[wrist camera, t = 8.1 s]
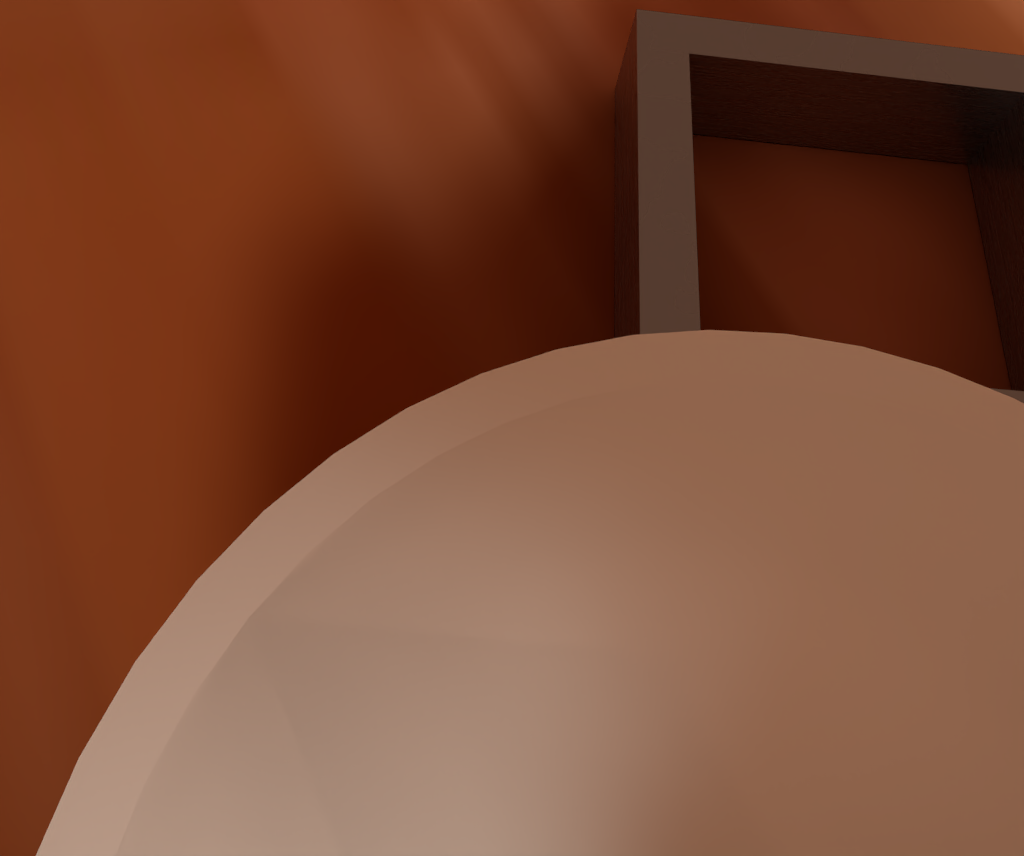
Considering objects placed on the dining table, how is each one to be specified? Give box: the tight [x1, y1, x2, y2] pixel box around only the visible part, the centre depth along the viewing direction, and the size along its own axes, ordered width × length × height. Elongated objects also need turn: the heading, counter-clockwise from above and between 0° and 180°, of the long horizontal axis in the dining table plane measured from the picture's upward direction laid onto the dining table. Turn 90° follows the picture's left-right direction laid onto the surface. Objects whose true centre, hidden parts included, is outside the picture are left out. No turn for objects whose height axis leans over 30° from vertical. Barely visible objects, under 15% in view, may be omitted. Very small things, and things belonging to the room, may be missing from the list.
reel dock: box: [614, 9, 1024, 403], centre depth 21 cm, size 10×10×2 cm
